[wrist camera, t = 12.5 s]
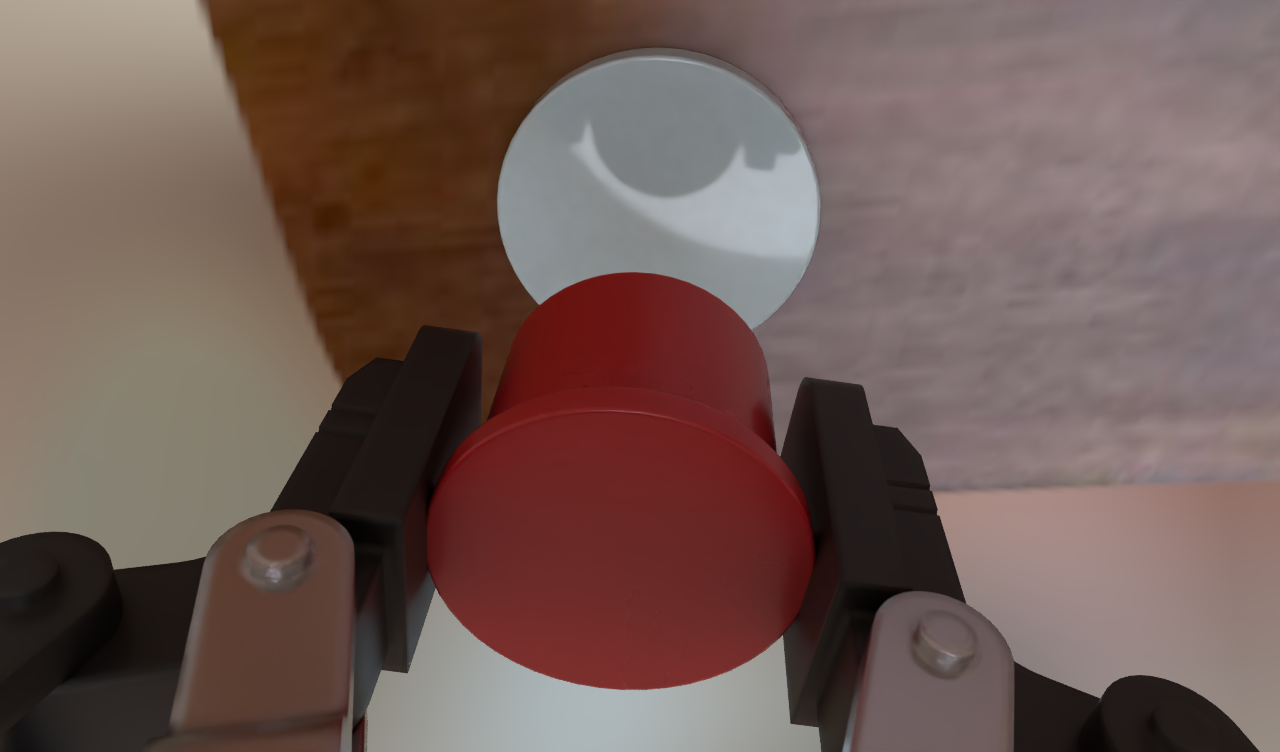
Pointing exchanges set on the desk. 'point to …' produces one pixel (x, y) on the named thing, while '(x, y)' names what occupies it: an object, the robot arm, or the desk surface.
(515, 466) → the red cylinder plug
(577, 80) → the white round disc
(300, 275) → the desk surface
